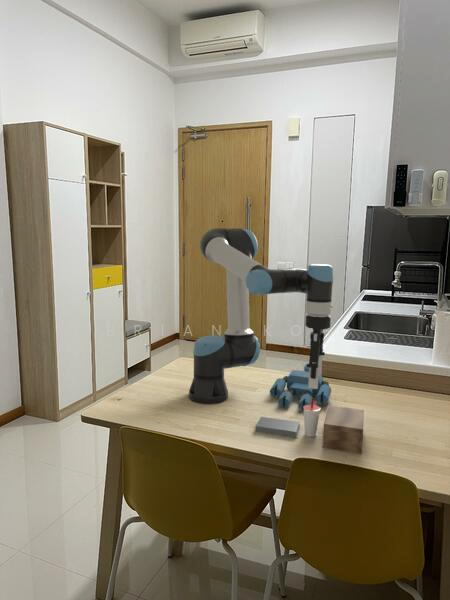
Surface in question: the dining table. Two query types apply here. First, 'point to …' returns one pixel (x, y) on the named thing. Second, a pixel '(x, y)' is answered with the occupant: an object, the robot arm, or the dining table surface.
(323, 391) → the toy
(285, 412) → the dining table surface
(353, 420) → the brown wooden block
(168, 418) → the dining table surface
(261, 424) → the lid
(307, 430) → the cup
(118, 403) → the dining table surface
